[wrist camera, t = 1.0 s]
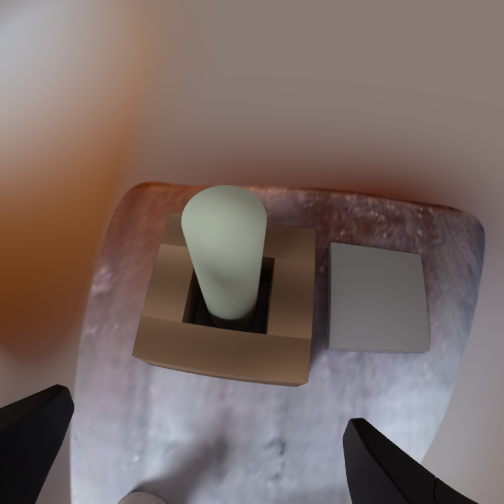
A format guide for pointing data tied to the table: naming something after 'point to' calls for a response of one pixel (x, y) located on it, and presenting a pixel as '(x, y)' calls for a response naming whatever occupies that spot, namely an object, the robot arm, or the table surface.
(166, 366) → the walnut pocket block
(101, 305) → the table surface
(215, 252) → the sage peg
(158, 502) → the rook chess piece
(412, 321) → the slate tile
